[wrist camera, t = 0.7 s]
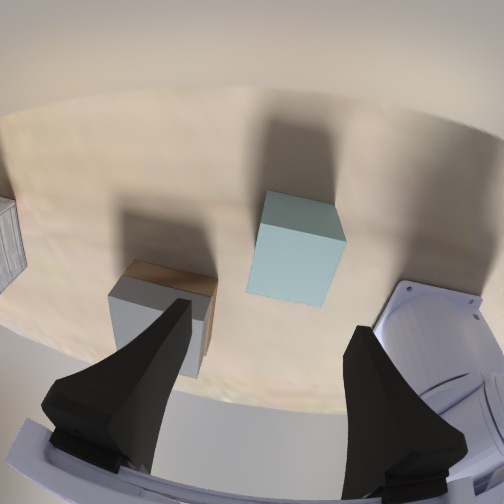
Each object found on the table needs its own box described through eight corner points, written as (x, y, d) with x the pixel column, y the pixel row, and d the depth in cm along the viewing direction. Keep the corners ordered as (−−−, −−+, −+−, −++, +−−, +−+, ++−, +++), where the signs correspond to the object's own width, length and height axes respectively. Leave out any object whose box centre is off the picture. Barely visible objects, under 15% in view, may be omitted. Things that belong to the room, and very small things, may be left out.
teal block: (334, 204, 20) (346, 242, 15) (316, 261, 22) (321, 307, 18) (267, 189, 20) (260, 223, 15) (254, 248, 22) (245, 292, 18)
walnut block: (219, 275, 24) (212, 296, 22) (211, 335, 28) (205, 356, 26) (136, 257, 24) (123, 274, 22) (140, 318, 28) (130, 336, 26)
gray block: (211, 297, 22) (203, 321, 20) (203, 356, 26) (196, 379, 24) (122, 274, 22) (107, 295, 20) (128, 335, 26) (118, 356, 23)
